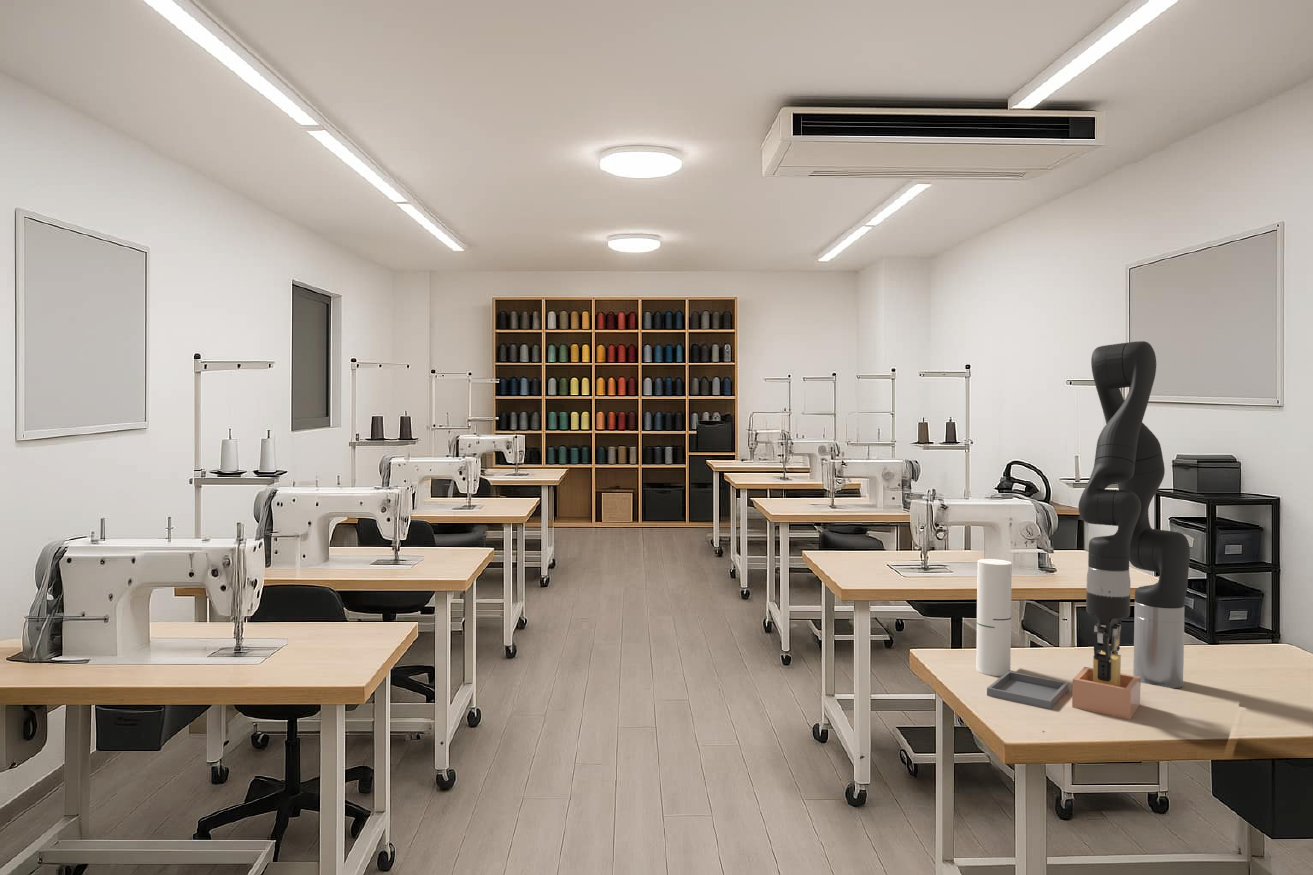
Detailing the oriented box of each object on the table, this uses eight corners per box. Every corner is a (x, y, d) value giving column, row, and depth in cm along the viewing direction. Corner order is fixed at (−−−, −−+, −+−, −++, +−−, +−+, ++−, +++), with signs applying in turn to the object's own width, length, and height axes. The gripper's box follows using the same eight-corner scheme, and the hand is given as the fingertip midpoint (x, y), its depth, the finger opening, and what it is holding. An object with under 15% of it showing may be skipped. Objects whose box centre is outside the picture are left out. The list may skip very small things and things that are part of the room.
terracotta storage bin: (1084, 697, 166) (1084, 666, 166) (1140, 709, 160) (1140, 676, 159) (1072, 711, 158) (1072, 679, 158) (1130, 724, 152) (1130, 690, 152)
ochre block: (1097, 700, 162) (1098, 651, 161) (1119, 705, 159) (1120, 654, 159) (1092, 706, 159) (1093, 655, 158) (1115, 710, 156) (1116, 659, 156)
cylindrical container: (1013, 676, 179) (1014, 565, 178) (979, 674, 181) (980, 564, 180) (1006, 666, 186) (1007, 559, 185) (973, 665, 188) (974, 558, 187)
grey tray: (1008, 682, 176) (1008, 670, 176) (1068, 694, 168) (1068, 682, 168) (986, 699, 165) (986, 687, 165) (1050, 714, 157) (1050, 701, 157)
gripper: (1122, 600, 150) (1121, 691, 151) (1136, 587, 161) (1135, 672, 162) (1078, 594, 155) (1076, 682, 156) (1095, 582, 166) (1093, 664, 167)
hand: (1106, 676), depth 159 cm, fingers closed on ochre block, 4 cm apart
